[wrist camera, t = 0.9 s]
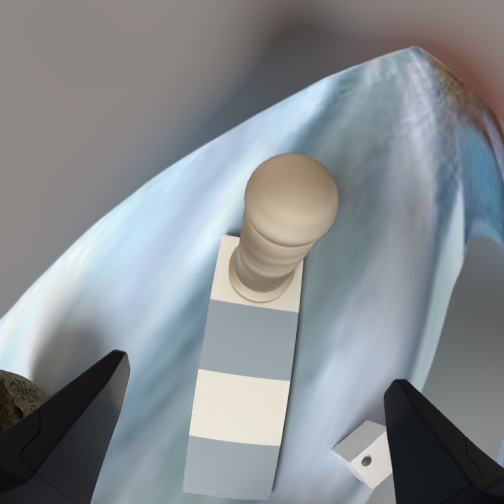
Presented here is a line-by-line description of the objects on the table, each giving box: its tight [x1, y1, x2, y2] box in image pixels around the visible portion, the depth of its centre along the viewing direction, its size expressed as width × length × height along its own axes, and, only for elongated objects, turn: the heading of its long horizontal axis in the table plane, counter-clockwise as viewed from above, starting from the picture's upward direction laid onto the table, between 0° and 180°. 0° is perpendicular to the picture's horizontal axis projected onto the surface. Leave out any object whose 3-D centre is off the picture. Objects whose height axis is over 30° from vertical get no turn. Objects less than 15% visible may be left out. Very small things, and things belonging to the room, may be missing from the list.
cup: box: [0, 370, 49, 432], centre depth 14 cm, size 8×7×8 cm
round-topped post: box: [229, 153, 339, 303], centre depth 17 cm, size 5×5×14 cm
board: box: [183, 235, 304, 501], centre depth 21 cm, size 22×7×1 cm, turn 172°
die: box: [332, 420, 392, 489], centre depth 18 cm, size 4×4×4 cm
